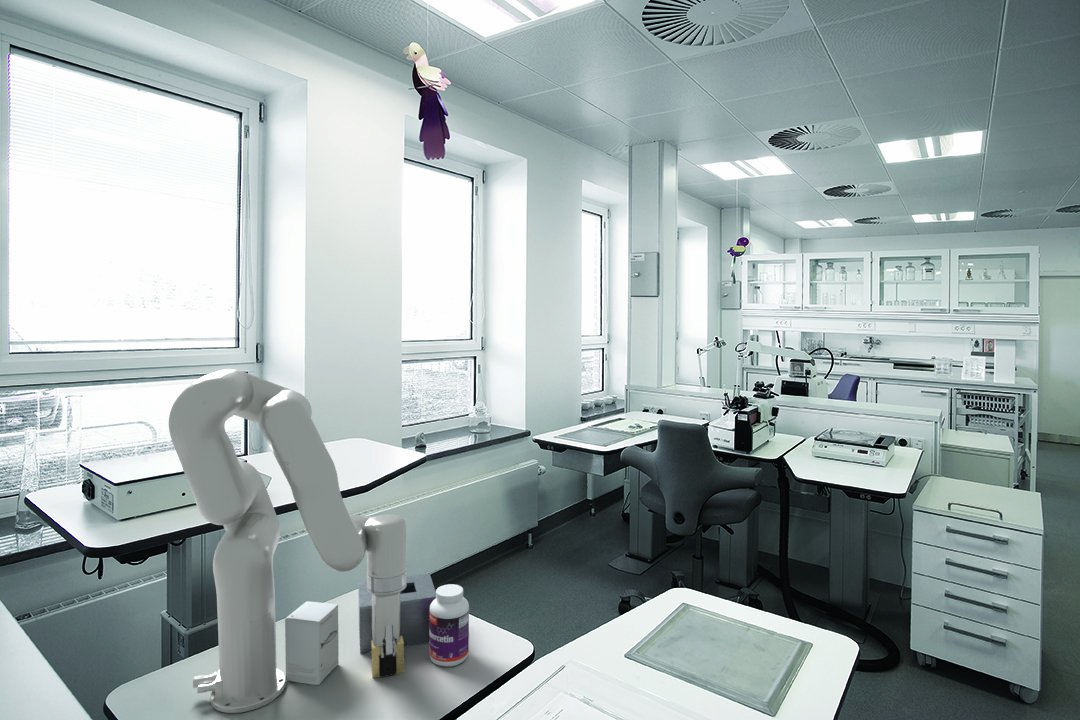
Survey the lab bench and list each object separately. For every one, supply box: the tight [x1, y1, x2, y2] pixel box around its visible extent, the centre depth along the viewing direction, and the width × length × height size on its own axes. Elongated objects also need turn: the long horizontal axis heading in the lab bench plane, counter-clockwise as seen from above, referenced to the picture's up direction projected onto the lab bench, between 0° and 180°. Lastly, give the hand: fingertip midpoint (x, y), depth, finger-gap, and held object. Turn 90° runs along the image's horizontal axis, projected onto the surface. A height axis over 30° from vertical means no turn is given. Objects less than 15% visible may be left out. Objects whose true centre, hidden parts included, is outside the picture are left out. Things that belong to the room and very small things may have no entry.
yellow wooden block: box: [370, 636, 405, 679], centre depth 117 cm, size 6×3×6 cm, turn 108°
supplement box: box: [284, 600, 340, 686], centre depth 116 cm, size 7×7×13 cm
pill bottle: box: [428, 583, 470, 667], centre depth 121 cm, size 8×8×14 cm
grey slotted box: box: [357, 573, 436, 654], centre depth 131 cm, size 16×12×10 cm
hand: (387, 669), depth 117 cm, fingers closed on yellow wooden block, 2 cm apart
